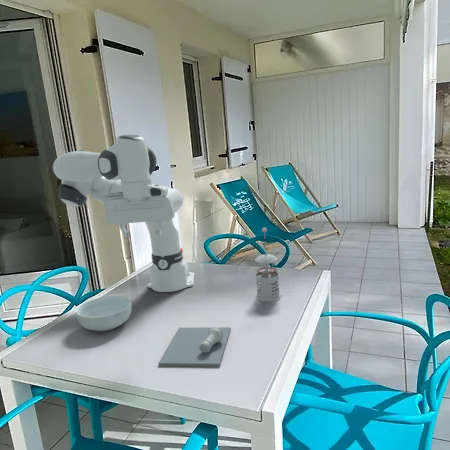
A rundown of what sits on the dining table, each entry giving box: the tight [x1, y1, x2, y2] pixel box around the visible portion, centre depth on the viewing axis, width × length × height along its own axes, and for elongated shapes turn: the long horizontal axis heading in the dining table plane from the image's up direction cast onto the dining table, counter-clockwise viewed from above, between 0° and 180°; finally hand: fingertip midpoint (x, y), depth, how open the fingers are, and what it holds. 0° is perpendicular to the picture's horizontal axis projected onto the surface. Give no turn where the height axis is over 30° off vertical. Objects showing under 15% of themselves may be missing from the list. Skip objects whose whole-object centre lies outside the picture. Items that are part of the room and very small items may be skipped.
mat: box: [158, 326, 232, 368], centre depth 113 cm, size 20×16×1 cm
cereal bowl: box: [75, 295, 133, 332], centre depth 130 cm, size 17×17×7 cm
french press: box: [254, 227, 283, 302], centre depth 143 cm, size 10×12×25 cm
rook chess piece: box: [199, 326, 224, 353], centre depth 110 cm, size 4×4×8 cm
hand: (143, 236), depth 123 cm, fingers open, 8 cm apart
